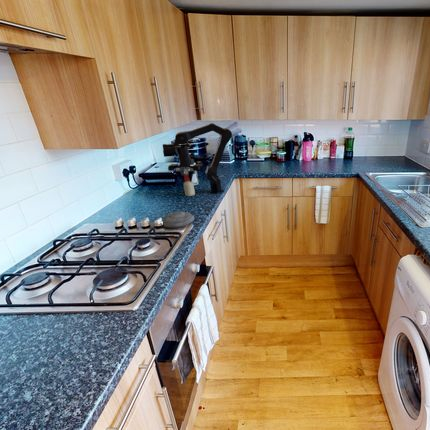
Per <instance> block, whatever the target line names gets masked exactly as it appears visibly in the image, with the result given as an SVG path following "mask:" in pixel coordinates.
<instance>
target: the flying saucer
mask: <svg viewBox="0 0 430 430" xmlns="http://www.w3.org/2000/svg"><path fill="white" fill-rule="evenodd" d="M161 221H163V225H164V226H163V225H162V226H163V227H165V228H169V229H170V228H171V229H174V228H181V227H185V226H188V225H190V224H192V223H193V222H194V221H195V216H194V214H191V213H190V212H188V211H183V210H182V211H181V210H180V211H179V210H178V211H174V212H173V211H172V212H170V213H168V214H166V215H165V216H164V217H163V218H162V220H161Z"/></svg>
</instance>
